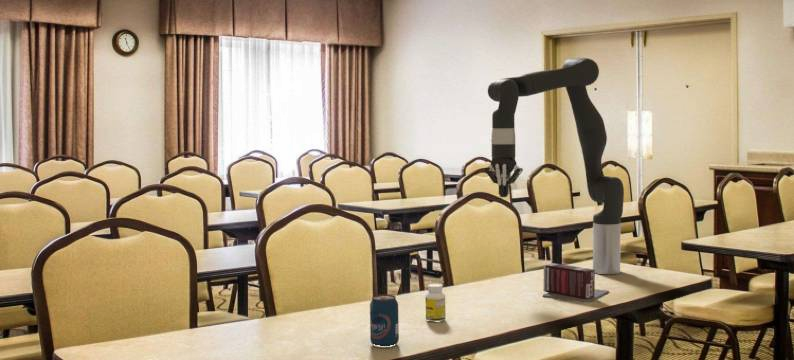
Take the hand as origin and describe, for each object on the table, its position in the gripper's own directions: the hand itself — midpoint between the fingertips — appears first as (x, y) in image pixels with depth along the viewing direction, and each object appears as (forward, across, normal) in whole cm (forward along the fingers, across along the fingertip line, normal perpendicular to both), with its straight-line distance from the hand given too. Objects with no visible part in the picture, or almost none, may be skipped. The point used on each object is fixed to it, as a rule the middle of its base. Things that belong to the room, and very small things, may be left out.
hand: (503, 196), depth 287 cm
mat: (+29, -24, 0) cm, 38 cm away
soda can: (+29, -6, +78) cm, 84 cm away
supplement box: (+24, -16, +1) cm, 29 cm away
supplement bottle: (+29, -4, +50) cm, 58 cm away
